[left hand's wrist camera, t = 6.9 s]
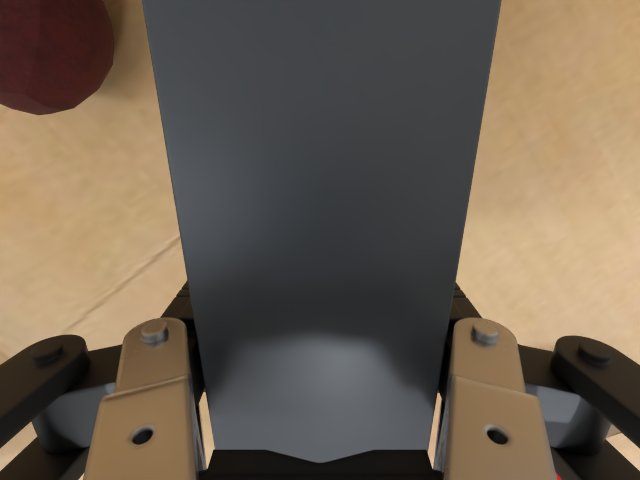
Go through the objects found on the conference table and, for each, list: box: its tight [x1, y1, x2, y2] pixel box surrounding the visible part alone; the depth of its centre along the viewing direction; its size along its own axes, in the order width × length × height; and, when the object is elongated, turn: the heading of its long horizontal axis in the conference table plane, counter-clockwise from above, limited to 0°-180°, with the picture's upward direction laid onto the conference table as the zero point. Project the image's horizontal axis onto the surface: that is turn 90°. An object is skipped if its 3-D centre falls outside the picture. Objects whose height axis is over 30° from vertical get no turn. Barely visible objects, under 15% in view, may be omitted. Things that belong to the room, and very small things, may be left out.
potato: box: [0, 0, 114, 115], centre depth 17 cm, size 7×8×7 cm
